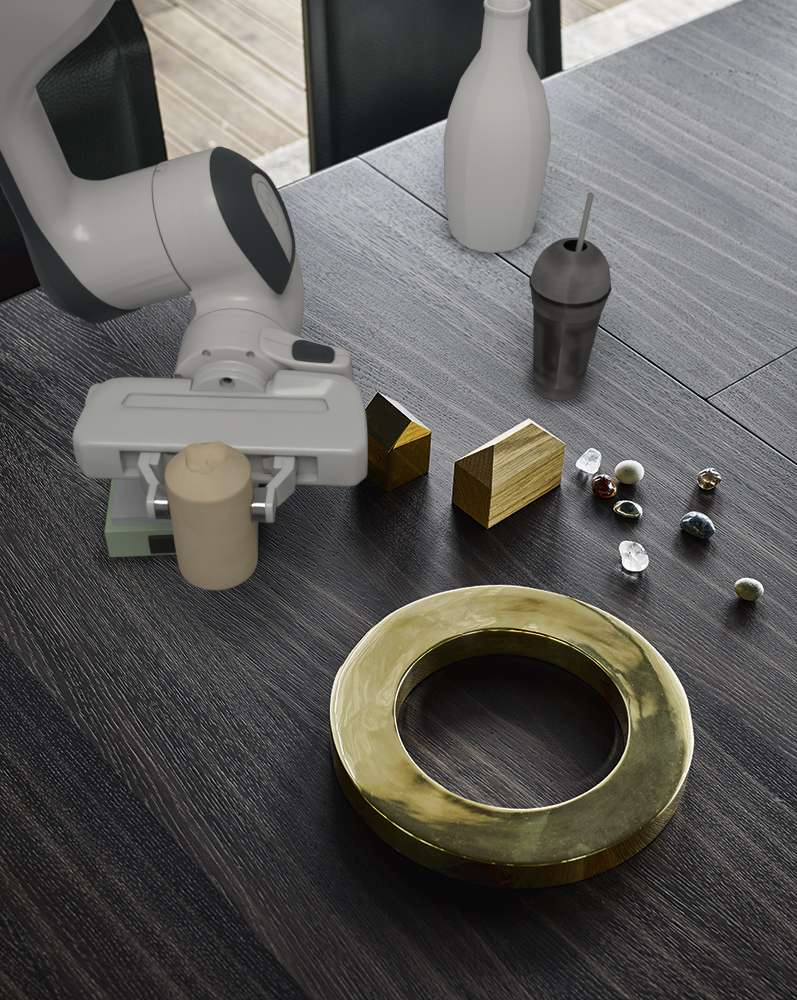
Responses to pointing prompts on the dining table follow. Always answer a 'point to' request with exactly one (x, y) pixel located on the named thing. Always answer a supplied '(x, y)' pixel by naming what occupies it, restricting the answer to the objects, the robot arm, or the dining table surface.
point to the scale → (137, 523)
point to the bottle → (497, 137)
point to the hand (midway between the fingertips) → (210, 514)
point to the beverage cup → (567, 311)
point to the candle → (212, 515)
